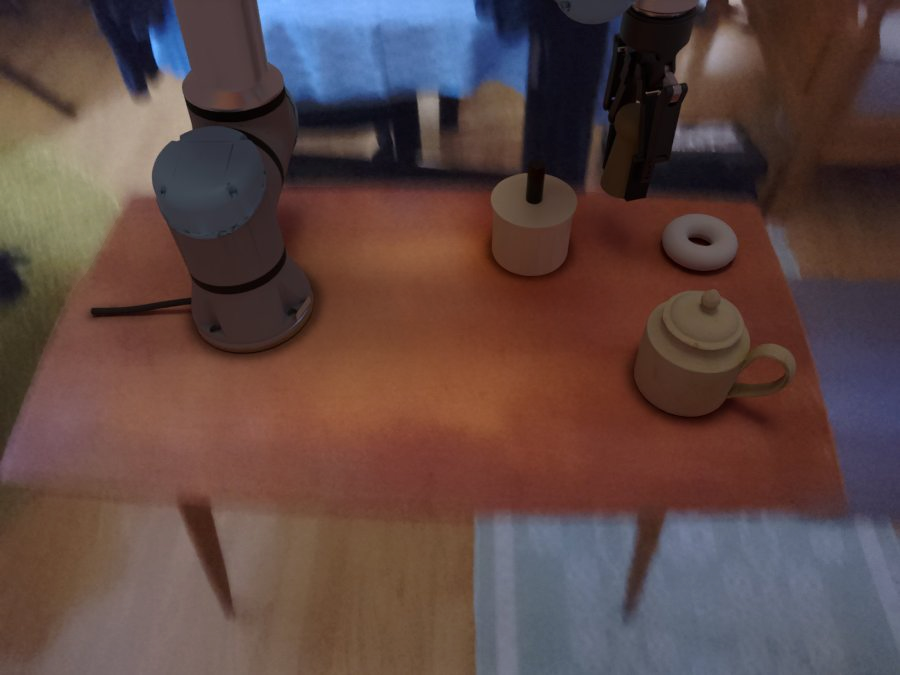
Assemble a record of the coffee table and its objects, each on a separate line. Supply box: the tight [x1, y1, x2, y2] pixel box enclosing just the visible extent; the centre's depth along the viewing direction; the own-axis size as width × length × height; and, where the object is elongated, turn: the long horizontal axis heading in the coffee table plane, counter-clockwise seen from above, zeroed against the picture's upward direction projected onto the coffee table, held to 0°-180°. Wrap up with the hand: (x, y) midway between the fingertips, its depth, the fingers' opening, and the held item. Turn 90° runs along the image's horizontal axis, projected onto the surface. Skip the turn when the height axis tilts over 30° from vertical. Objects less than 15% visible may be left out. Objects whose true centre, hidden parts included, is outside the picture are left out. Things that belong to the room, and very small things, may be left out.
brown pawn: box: [599, 102, 640, 200], centre depth 85 cm, size 6×6×11 cm
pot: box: [491, 210, 574, 277], centre depth 92 cm, size 10×10×8 cm
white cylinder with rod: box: [490, 157, 578, 230], centre depth 87 cm, size 11×11×7 cm
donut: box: [661, 213, 739, 272], centre depth 93 cm, size 10×4×10 cm
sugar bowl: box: [633, 288, 797, 418], centre depth 74 cm, size 15×11×15 cm
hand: (623, 182), depth 89 cm, fingers closed on brown pawn, 6 cm apart
